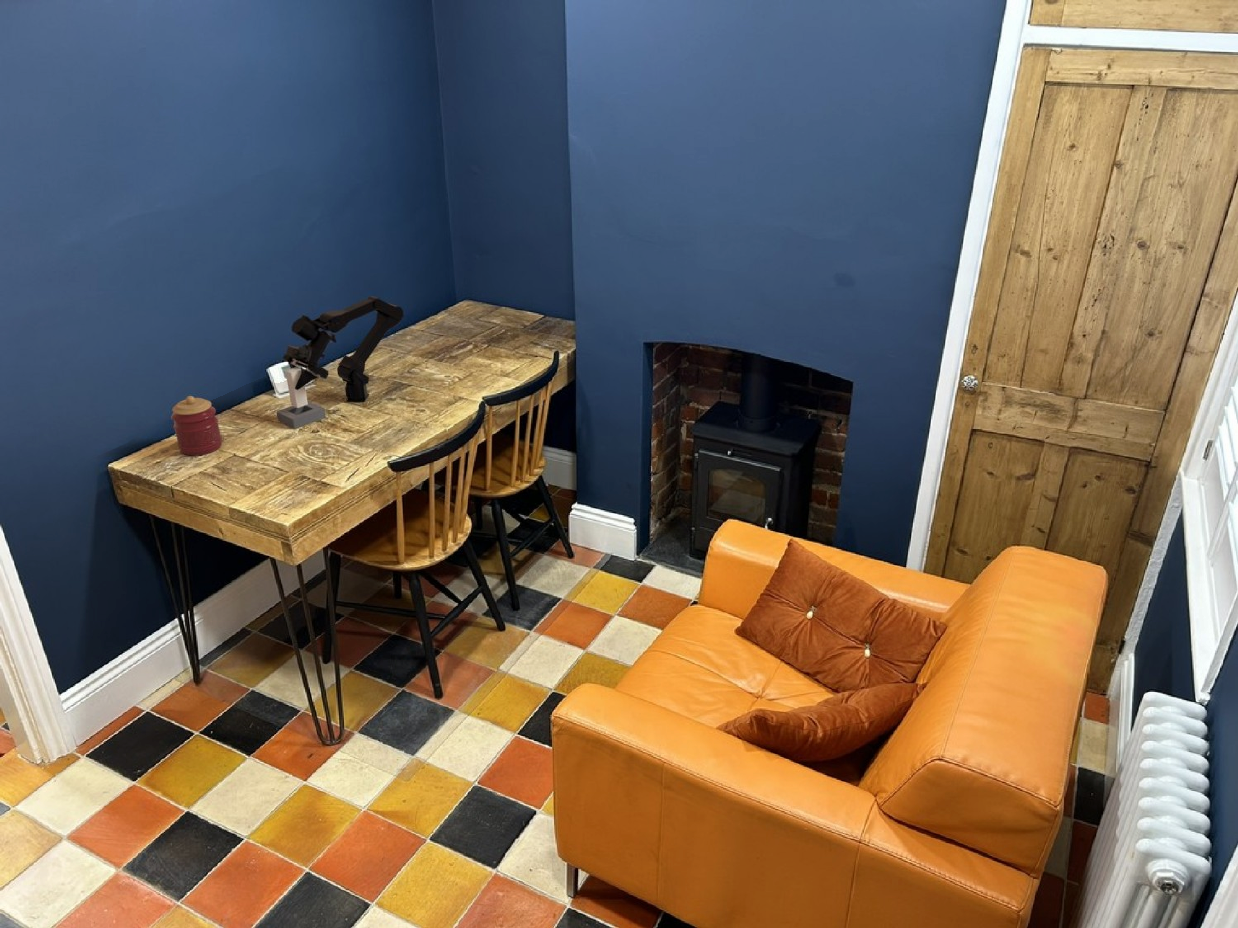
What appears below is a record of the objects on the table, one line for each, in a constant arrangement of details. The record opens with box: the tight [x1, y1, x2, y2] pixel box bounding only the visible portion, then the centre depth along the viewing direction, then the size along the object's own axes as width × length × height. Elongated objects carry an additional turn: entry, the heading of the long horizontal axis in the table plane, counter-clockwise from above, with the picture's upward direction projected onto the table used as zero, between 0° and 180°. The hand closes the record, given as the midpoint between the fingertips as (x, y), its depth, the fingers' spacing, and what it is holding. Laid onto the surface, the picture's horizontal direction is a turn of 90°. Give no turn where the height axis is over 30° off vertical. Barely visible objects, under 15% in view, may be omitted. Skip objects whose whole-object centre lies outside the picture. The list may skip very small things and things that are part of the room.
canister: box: [170, 395, 223, 456], centre depth 296 cm, size 13×13×18 cm
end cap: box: [276, 400, 327, 430], centre depth 317 cm, size 12×10×4 cm
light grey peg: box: [284, 367, 308, 408], centre depth 313 cm, size 4×4×12 cm
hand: (292, 388), depth 312 cm, fingers closed on light grey peg, 3 cm apart
